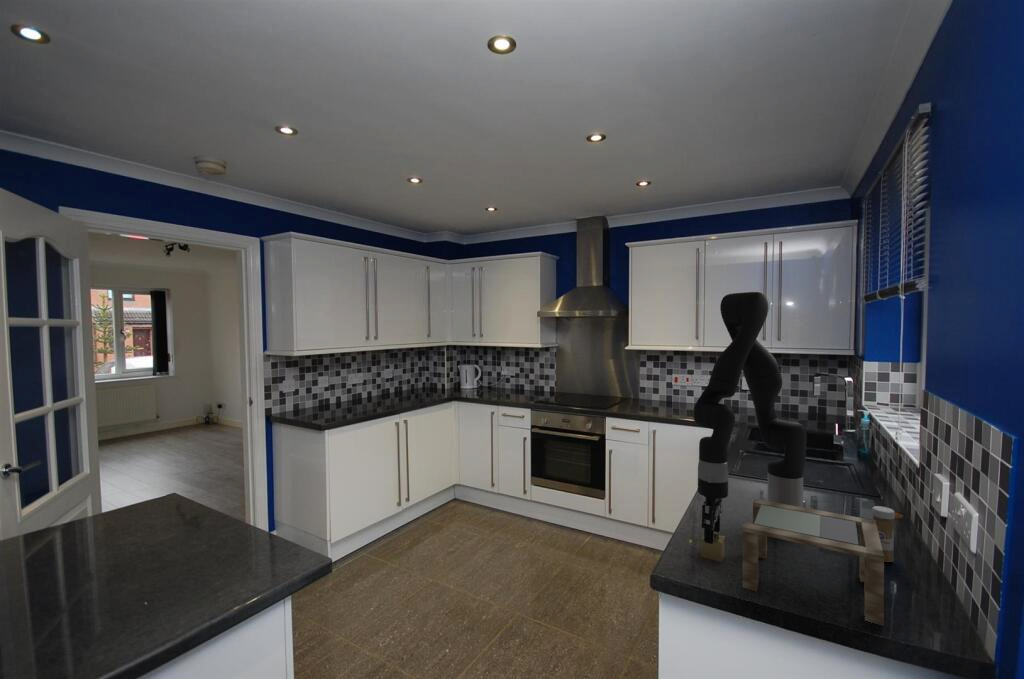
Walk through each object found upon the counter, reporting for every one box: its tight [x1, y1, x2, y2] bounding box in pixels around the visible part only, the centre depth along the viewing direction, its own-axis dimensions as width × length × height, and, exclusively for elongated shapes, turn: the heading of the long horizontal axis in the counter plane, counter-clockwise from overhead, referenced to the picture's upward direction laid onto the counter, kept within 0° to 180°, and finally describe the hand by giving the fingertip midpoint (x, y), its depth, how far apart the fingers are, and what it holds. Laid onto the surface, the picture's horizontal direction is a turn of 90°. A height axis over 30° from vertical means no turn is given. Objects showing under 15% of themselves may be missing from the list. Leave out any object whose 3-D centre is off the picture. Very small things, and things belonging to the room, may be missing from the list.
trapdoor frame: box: [742, 498, 885, 627], centre depth 110 cm, size 26×21×14 cm
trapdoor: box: [754, 505, 860, 562], centre depth 111 cm, size 20×14×4 cm
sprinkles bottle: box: [872, 505, 896, 563], centre depth 121 cm, size 5×5×14 cm
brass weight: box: [700, 533, 726, 563], centre depth 124 cm, size 5×5×5 cm
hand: (712, 536), depth 124 cm, fingers open, 8 cm apart
